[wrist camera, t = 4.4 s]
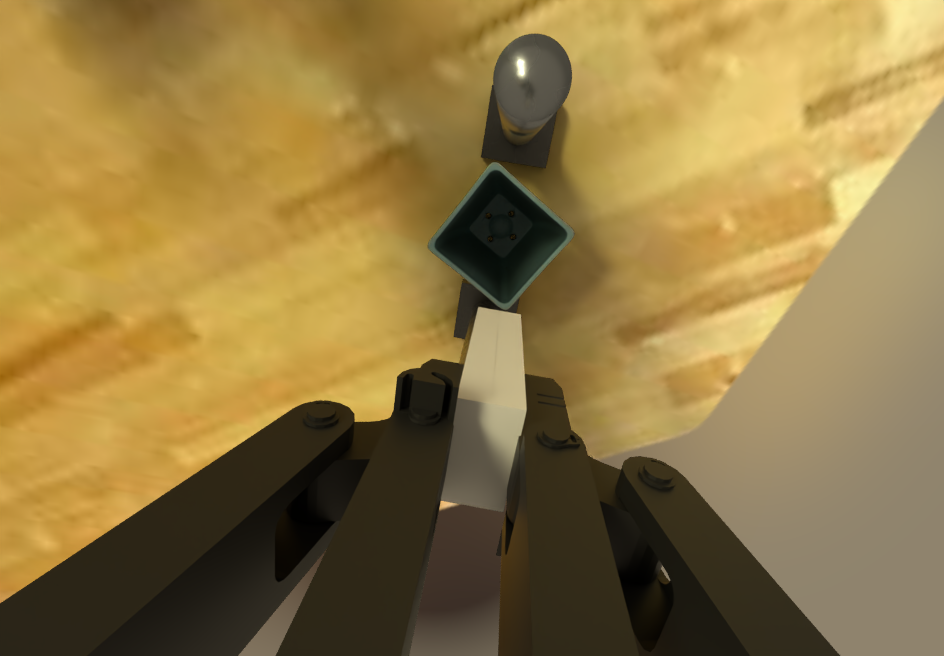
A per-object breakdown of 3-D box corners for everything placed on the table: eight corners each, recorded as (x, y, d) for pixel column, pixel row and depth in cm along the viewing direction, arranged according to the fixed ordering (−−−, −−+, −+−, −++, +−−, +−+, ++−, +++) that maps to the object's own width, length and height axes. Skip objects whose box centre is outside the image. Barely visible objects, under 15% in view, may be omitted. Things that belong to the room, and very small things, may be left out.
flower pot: (565, 220, 44) (578, 233, 36) (506, 286, 47) (505, 313, 39) (497, 159, 43) (494, 158, 34) (440, 231, 46) (424, 246, 37)
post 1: (463, 279, 47) (413, 402, 23) (520, 288, 47) (530, 423, 23) (455, 331, 49) (401, 497, 25) (509, 341, 49) (508, 516, 25)
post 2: (492, 87, 41) (467, -27, 16) (558, 98, 41) (631, -1, 16) (482, 157, 43) (445, 148, 18) (544, 167, 43) (590, 173, 18)
